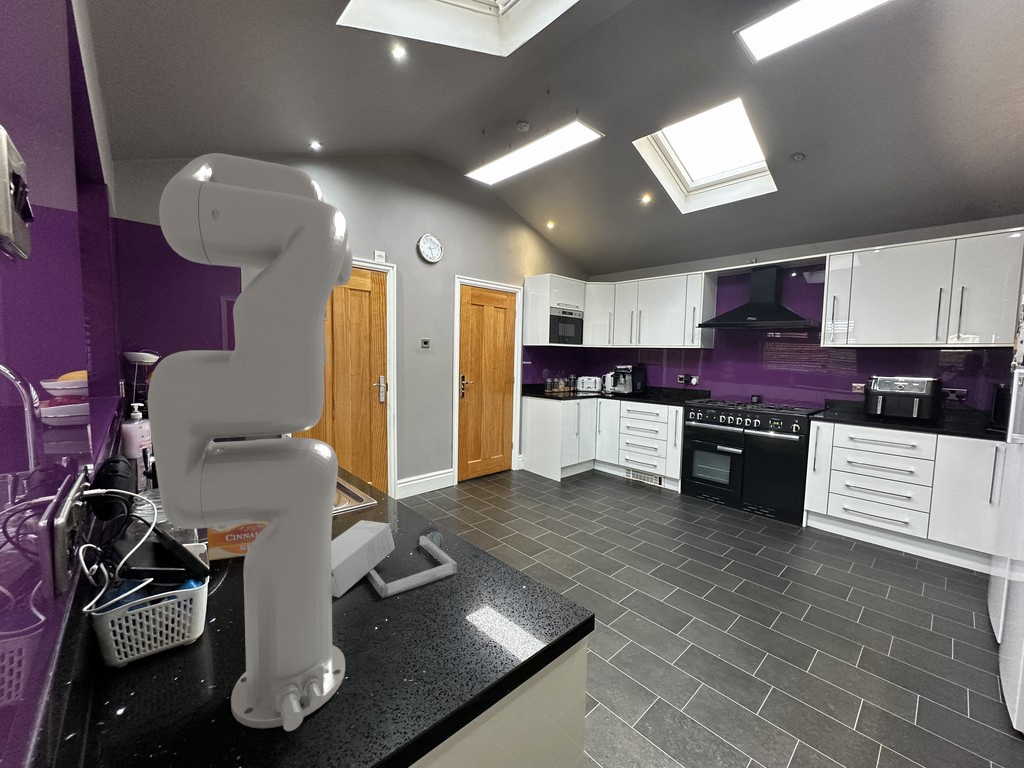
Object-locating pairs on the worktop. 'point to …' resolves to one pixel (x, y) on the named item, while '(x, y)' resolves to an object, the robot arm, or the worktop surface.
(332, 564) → the skincare box
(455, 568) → the bracket
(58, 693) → the worktop surface
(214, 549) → the coffeecake box
